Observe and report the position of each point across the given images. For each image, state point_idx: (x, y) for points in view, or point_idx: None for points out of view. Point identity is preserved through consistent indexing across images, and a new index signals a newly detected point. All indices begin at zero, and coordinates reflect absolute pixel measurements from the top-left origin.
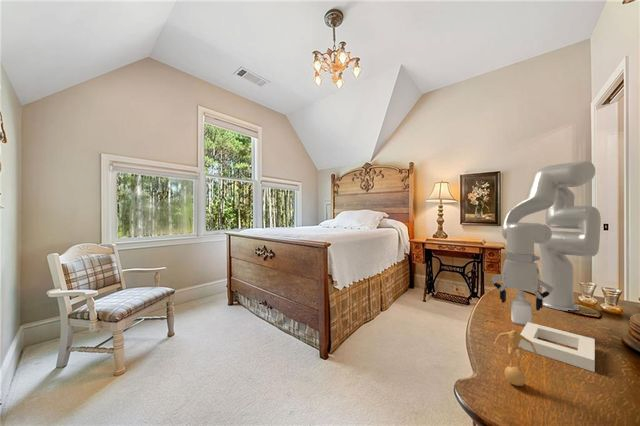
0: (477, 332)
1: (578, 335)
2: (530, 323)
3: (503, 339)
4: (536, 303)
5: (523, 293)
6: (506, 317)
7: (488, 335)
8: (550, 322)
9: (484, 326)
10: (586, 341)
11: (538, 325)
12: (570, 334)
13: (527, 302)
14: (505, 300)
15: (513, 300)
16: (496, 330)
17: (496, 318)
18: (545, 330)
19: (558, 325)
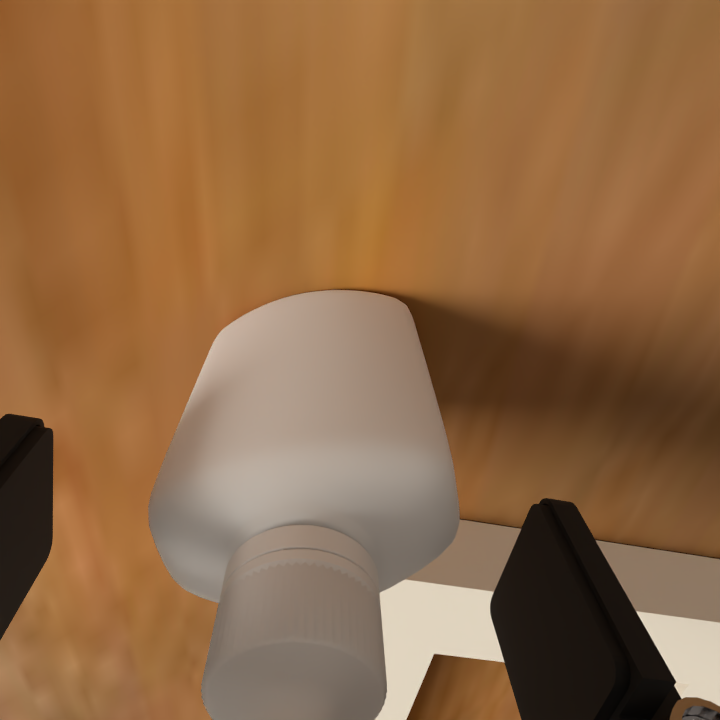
0: (24, 712)
1: (718, 637)
2: (386, 593)
3: (198, 716)
4: (523, 705)
5: (348, 709)
6: (154, 243)
7: (101, 714)
8: (660, 96)
9: (28, 602)
10: (717, 702)
11: (450, 602)
12: (660, 647)
13: (403, 576)
14: (44, 468)
15: (178, 571)
16: (130, 621)
17: (62, 351)
18: (485, 656)
19: (717, 162)
